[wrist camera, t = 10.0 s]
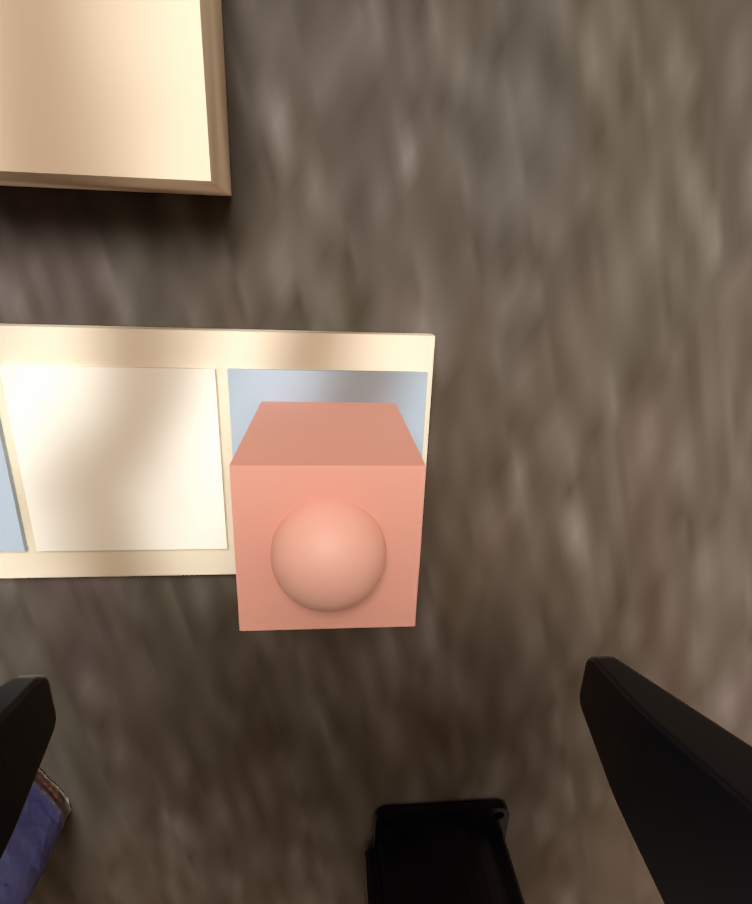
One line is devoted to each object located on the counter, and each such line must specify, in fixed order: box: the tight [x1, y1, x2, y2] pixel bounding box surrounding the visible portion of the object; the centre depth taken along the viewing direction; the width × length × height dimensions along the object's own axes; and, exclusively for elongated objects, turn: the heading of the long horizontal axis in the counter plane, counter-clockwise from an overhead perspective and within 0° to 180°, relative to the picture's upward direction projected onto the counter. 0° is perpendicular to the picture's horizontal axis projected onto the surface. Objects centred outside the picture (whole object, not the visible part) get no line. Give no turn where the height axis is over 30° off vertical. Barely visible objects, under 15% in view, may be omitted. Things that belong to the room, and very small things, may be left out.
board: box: [0, 324, 435, 578], centre depth 18 cm, size 21×9×1 cm, turn 88°
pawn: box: [229, 401, 426, 631], centre depth 15 cm, size 4×4×7 cm
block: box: [0, 0, 232, 196], centre depth 13 cm, size 7×7×3 cm
